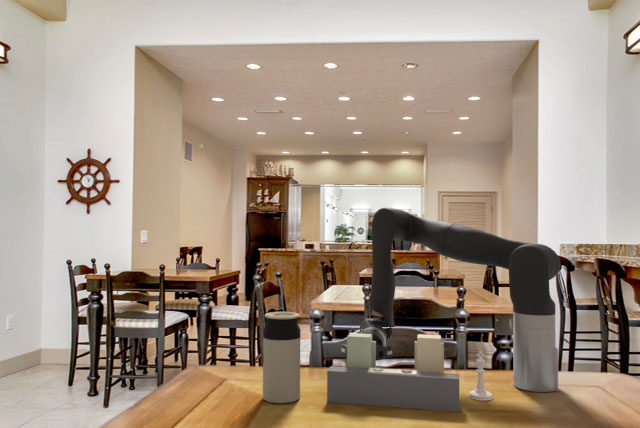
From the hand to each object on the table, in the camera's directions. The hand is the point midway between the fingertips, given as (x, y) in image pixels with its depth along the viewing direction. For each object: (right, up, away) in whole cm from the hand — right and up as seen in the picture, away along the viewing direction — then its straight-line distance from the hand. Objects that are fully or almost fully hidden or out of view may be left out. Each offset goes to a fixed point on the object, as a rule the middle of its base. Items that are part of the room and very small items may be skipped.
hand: (361, 359), depth 121 cm
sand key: (+15, -5, -4) cm, 16 cm away
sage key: (-1, -5, -3) cm, 6 cm away
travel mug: (-18, -7, -7) cm, 20 cm away
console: (+6, -7, -6) cm, 11 cm away
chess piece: (+26, -7, -5) cm, 27 cm away
